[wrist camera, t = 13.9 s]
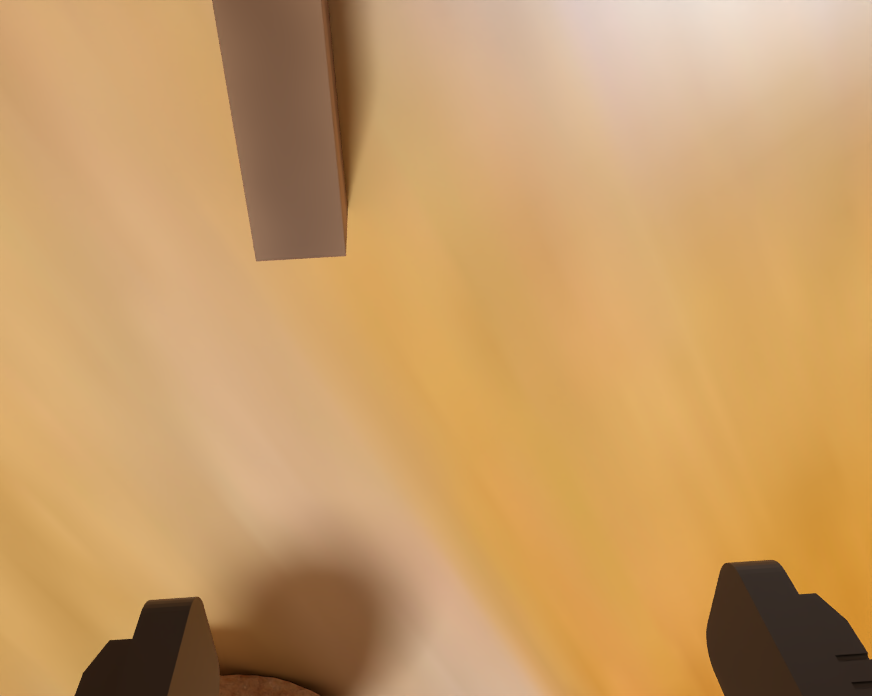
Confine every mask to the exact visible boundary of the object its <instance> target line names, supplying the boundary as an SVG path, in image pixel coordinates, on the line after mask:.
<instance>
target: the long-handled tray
mask: <svg viewBox="0 0 872 696" xmlns="http://www.w3.org/2000/svg"><path fill="white" fill-rule="evenodd" d="M212 2H213V8H214V14H215V20H216V26H217V32H218V38H219V44H220V50H221V55H222V61H223V67H224V73H225V79H226V85H227V91H228V97H229V103H230V109H231V115H232V121H233V127H234V133H235V138H236V144H237V150H238V156H239V162H240V168H241V174H242V180H243V186H244V192H245V198H246V204H247V210H248V215H249V221H250V227H251V233H252V239H253V245H254V251H255V257H256V261H269V260H286V259H303V258H320V257H337V256H346V240H347V215H348V209H347V199H346V188H345V177H344V166H343V156H342V145H341V134H340V124H339V113H338V102H337V92H336V81H335V70H334V60H333V49H332V38H331V27H330V17H329V6H328V0H212Z"/></svg>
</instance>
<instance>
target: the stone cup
mask: <svg viewBox="0 0 872 696" xmlns="http://www.w3.org/2000/svg"><path fill="white" fill-rule="evenodd" d="M219 696H320V695H318V694H317V693H315V692H313V691H310V690H308V689H306V688H303V687H301V686H298V685H296V684H293V683H291V682H289V681H285V680H281V679H278V678H275V677H261V676H258V675H249V676H248V675H225V676H220V688H219Z"/></svg>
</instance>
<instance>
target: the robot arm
mask: <svg viewBox="0 0 872 696" xmlns="http://www.w3.org/2000/svg"><path fill="white" fill-rule="evenodd" d="M706 638H707V648H708V653H709V657H710V661H711V664H712V667H713V670H714V672H715V674H716V677H717V679H718V681H719V684H720V686H721V689H722V691H723V693H724V696H872V659H869V658H868V652H867V651H866V649H865V648H864V646H863V645H862V643H861V641H860V640H859V638H858V637H857V635H856V634H855V632H854V631H853V629H852V627H851V626H850V624H849V623H848V621H847V620H846V619H845V618H844V617H843V616H841V615H840V614H839V613H838V612H837V611H836V610H834V609H833V608H832V607H831V606H830V605H829V604H828V603H826V602H825V601H824V600H823V599H822V598H821V597H820V596H818V595H817V594H816V593H813V594H798V592H797V590H796V589H795V587H794V585H793V584H792V582H791V580H790V578H789V577H788V575H787V573H786V572H785V570H784V569H783V567H782V566H781V565H780V564H779V563H778V562H777V561H774V560H763V561H749V562H734V563H725V564H724V565H723V566H722V568H721V570H720V574H719V578H718V582H717V586H716V591H715V595H714V599H713V603H712V607H711V611H710V615H709V619H708V624H707V631H706ZM219 688H220V670H219V661H218V657H217V653H216V649H215V646H214V642H213V638H212V635H211V631H210V627H209V624H208V620H207V616H206V613H205V609H204V605H203V602H202V600H201V599H200V598H199V597H188V598H174V599H159V600H149V601H147V602H146V604H145V605H144V607H143V609H142V611H141V614H140V617H139V620H138V623H137V626H136V629H135V633H134V636H133V639H124V640H110V641H109V642H108V643H107V644H106V645H105V647H104V648H103V649H102V650H101V652H100V653H99V654H98V655H97V657H96V658H95V659H94V660H93V662H92V663H91V664H90V665H89V666H88V668H87V669H86V670H85V671H84V673H83V675H82V678H81V680H80V683H79V686H78V688H77V691H76V694H75V696H219Z"/></svg>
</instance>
